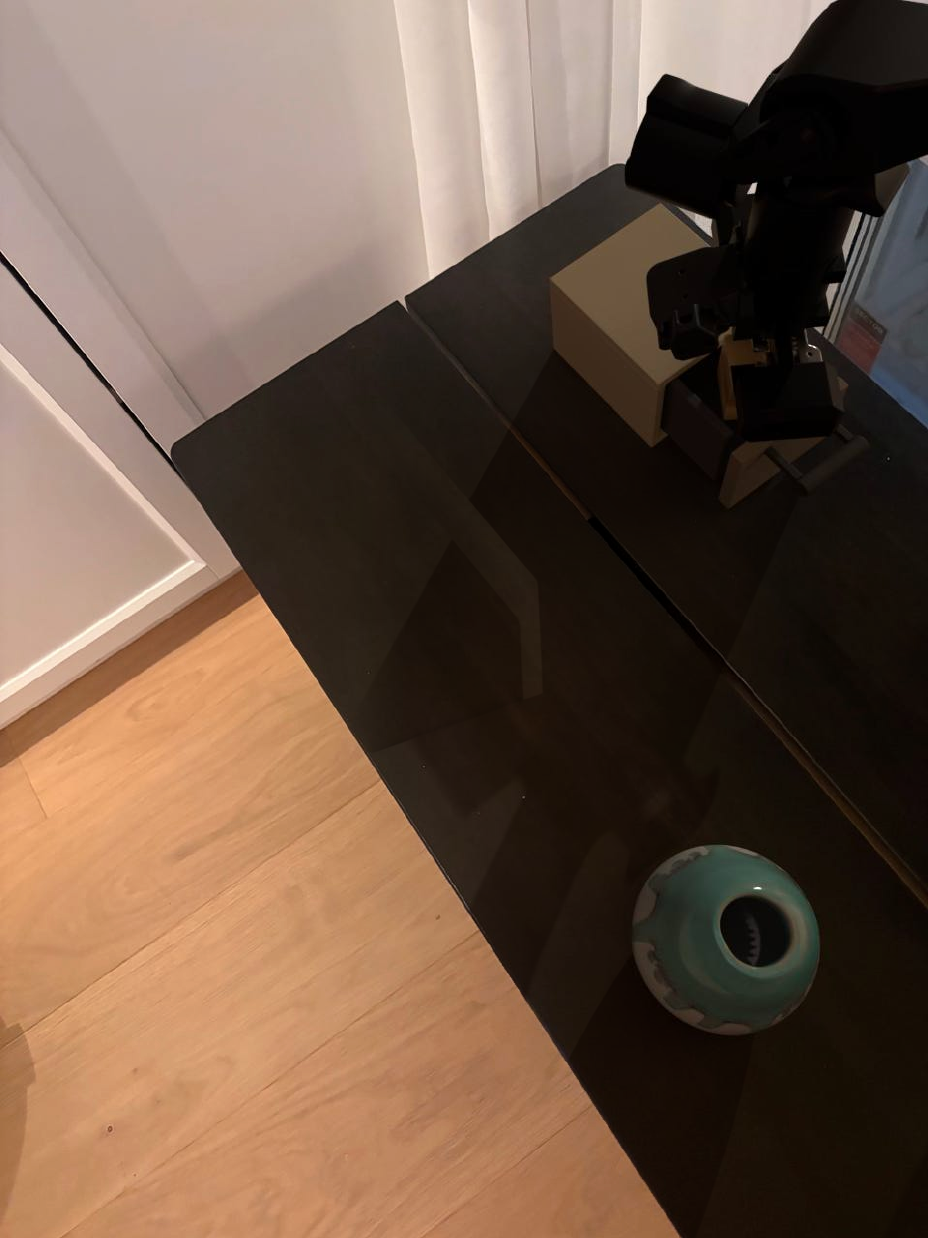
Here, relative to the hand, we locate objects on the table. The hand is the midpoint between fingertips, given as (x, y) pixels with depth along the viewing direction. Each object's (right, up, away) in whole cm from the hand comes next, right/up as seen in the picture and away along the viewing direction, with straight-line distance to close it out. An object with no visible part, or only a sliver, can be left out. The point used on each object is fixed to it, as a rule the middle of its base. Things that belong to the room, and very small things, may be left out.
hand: (752, 384), depth 69 cm
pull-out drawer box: (+1, -3, +7) cm, 7 cm away
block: (0, 0, +1) cm, 1 cm away
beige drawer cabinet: (-5, +5, +12) cm, 14 cm away
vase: (-5, -40, -6) cm, 41 cm away
